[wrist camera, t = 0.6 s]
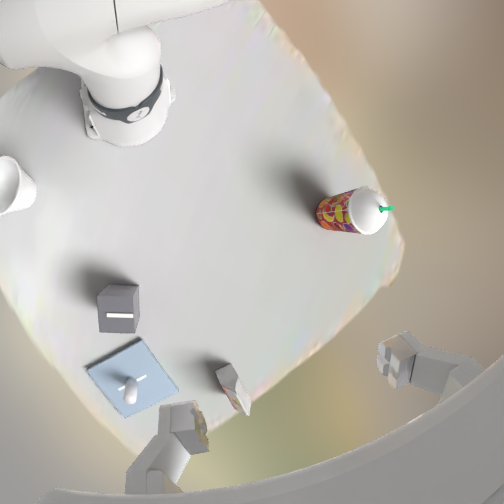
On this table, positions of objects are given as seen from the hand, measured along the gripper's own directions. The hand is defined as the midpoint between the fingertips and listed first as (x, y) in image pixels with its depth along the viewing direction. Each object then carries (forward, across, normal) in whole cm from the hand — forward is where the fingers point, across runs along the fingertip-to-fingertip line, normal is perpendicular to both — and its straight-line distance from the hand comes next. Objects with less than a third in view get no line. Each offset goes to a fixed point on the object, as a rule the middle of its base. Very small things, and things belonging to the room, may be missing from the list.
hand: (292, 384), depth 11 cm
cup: (+42, +36, -13) cm, 57 cm away
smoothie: (+47, -22, +8) cm, 53 cm away
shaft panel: (+35, +25, +27) cm, 51 cm away
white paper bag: (+36, +6, +34) cm, 50 cm away
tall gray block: (+39, +21, +12) cm, 46 cm away
